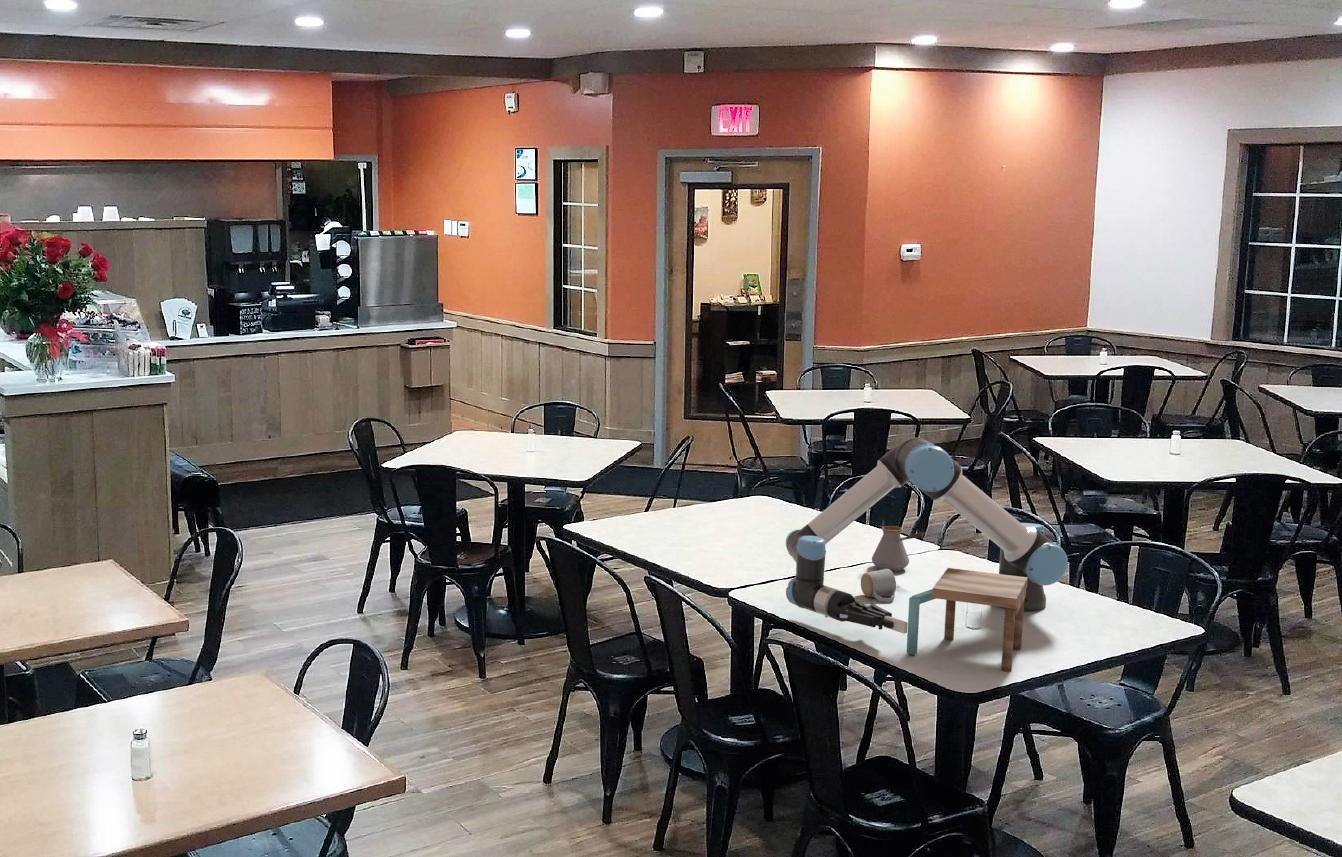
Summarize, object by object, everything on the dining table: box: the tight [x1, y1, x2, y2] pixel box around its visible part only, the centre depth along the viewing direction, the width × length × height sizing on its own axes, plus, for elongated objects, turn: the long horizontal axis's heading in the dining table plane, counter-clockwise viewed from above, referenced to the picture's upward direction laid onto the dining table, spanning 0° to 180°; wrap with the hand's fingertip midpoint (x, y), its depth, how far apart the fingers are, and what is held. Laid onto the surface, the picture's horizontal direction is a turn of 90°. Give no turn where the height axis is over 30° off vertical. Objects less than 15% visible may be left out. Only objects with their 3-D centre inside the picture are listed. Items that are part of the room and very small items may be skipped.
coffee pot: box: [871, 525, 929, 573], centre depth 395 cm, size 21×12×15 cm, turn 30°
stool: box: [932, 567, 1028, 673], centre depth 323 cm, size 20×20×18 cm
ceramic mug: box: [860, 569, 897, 604], centre depth 370 cm, size 11×8×8 cm
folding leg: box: [906, 588, 936, 655], centre depth 326 cm, size 16×3×15 cm, turn 135°
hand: (905, 628), depth 322 cm, fingers closed
